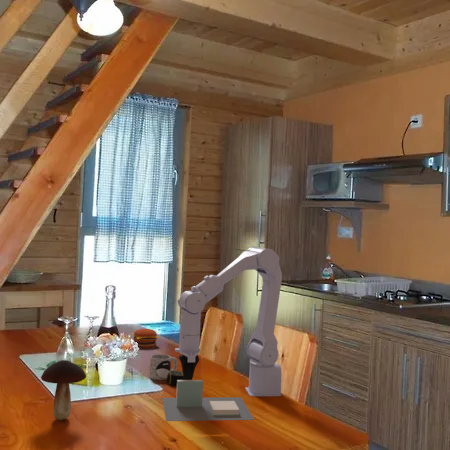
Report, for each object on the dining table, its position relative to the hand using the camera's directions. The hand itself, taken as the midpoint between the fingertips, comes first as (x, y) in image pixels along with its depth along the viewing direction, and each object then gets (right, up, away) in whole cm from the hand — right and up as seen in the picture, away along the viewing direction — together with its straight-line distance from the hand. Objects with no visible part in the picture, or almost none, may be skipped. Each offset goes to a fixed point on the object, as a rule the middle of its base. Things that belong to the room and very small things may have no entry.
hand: (187, 381), depth 164 cm
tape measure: (-4, -6, +16) cm, 17 cm away
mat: (+5, -6, -7) cm, 10 cm away
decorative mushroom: (-31, -5, -19) cm, 36 cm away
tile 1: (+10, -5, -5) cm, 12 cm away
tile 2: (+1, -5, -5) cm, 8 cm away
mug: (-9, -5, +23) cm, 26 cm away
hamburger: (-21, -4, +65) cm, 68 cm away
